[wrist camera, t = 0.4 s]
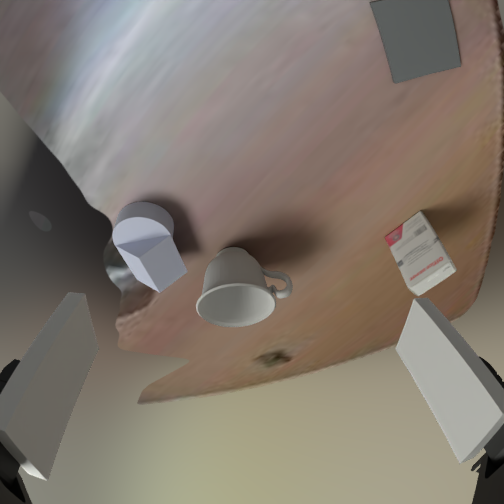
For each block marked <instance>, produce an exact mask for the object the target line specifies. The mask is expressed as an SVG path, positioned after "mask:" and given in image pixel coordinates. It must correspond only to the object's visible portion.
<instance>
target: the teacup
mask: <svg viewBox="0 0 504 504" xmlns="http://www.w3.org/2000/svg"><path fill="white" fill-rule="evenodd" d="M264 275H266V276H268V277H270V278H277V279H281V280H284V281H285V282H286V283H287V286H286V288H285V289H284V290H280V291H279V290H277V289H276V287H275V286H274V285H271V286H270V287H267V284H266V281H265V278H264ZM292 287H293V285H292V281H291V279H290V277H289V276H288V275H287V274H285V273H283V272H278V271H268V270H266V269H264V268H263V267H261V266H260V265H259V263H258V262H257V260H256V259H255V258H254V257H252V256H251V255H249V254H248V252H247V251H246V250H244V249H242V248H238V247H229V248H225V249H223V250H221V251H220V252H219V253H218V254H217V256H216V257H215V258H214V259H213V260H212V261H211V262H210V264H209V265H208V267H207V270H206V273H205V278H204V285H203V292H202V296H201V297H200V298H199V299H198V301H197V304H196V309H197V312H198V314H199V315H200V316H201V317H202V318H203V319H205V320H206V321H208V322H209V323H212V324H215V325H218V326H224V327H242V326H248V325H252V324H255V323H257V322H260V321H262V320H263V319H265V318H267V317H268V316H269V315H270V314H271V313H272V312H273V310H274V309H275V307H276V299H275V297H274V295H273V294H272V293H273V292H274V294H275V295H276V296H277V297H278V298H285V297H288V296H289V295H290V294H291V292H292Z"/></svg>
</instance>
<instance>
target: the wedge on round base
mask: <svg viewBox="0 0 504 504" xmlns="http://www.w3.org/2000/svg"><path fill="white" fill-rule="evenodd" d="M173 232H174V222H173V219H172V217H171V215H170V214H169V213H168V212H167V211H166V210H165V209H164V208H162V207H161V206H159V205H156V204H153V203H150V202H135V203H131V204H129V205H127V206H125V207H124V208H123V209H122V210H121V211H120V212H119V214H118V217H117V220H116V224H115V227H114V230H113V242H114V244H115V246H116V247H117V249H118V251H119V252H120V254H121V255H122V257H123V259H124V260H125V262H126V263H127V265H128V266H129V268H130V269H131V271H132V272H133V274H134V275H135V277H136V279H137V280H139V281H141V282H142V283H144V284H146V285H147V286H149V287H151V288H153V289H154V290H156V291H158V292H161V291H163V290H164V289H165V288H167V287H168V286H169V285H171V284H172V283H173V282H175V281H176V280H177V279H179V278H180V277H181V276H183V275H184V274H185V273H187V269H186V267H185V265H184V263H183V261H182V259H181V257H180V254H179V252H178V250H177V248H176V246H175V243H174V241H173Z"/></svg>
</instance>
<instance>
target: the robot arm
mask: <svg viewBox="0 0 504 504" xmlns="http://www.w3.org/2000/svg"><path fill="white" fill-rule="evenodd" d="M98 350H99V347H98V343H97V340H96V336H95V332H94V329H93V325H92V321H91V317H90V313H89V309H88V304H87V300H86V296H85V294H81V293H70V292H69V293H68V294H67V295H66V297H65V298H64V299H63V301H62V302H61V303H60V305H59V306H58V307H57V309H56V310H55V311H54V313H53V314H52V315H51V317H50V318H49V320H48V321H47V323H46V324H45V325H44V327H43V328H42V330H41V331H40V333H39V334H38V335H37V337H36V338H35V340H34V341H33V343H32V344H31V346H30V347H29V349H28V350H27V352H26V353H25V355H24V356H23V358H22V360H21V361H20V360H16V359H14V360H13V361H12V362H11V363H9V364H8V365H7V366H6V367H5V368H4V369H3V370H2V372H1V373H0V504H32V502H31V500H30V498H29V495H28V493H27V491H26V488H25V485H24V483H23V480H22V478H21V476H20V475H19V473H18V470H19V467H20V466H21V467H22V468H23V469H24V470H25V471H26V472H27V473H28V474H30V475H33V476H36V477H38V478H41V479H44V480H47V481H48V479H49V475H50V472H51V469H52V466H53V463H54V460H55V457H56V454H57V451H58V449H59V446H60V443H61V440H62V437H63V435H64V432H65V429H66V426H67V423H68V421H69V419H70V416H71V413H72V411H73V408H74V406H75V403H76V401H77V398H78V396H79V394H80V391H81V389H82V386H83V384H84V381H85V379H86V377H87V375H88V372H89V370H90V368H91V365H92V363H93V361H94V359H95V356H96V354H97V352H98ZM396 351H397V352H398V354H399V356H400V357H401V359H402V361H403V362H404V364H405V366H406V367H407V369H408V370H409V372H410V374H411V376H412V377H413V379H414V381H415V382H416V384H417V386H418V388H419V389H420V391H421V393H422V395H423V396H424V398H425V400H426V402H427V403H428V405H429V407H430V409H431V411H432V412H433V414H434V416H435V418H436V420H437V421H438V423H439V425H440V427H441V429H442V431H443V432H444V434H445V436H446V438H447V440H448V442H449V444H450V445H451V447H452V450H453V452H454V453H455V455H456V457H457V459H458V461H459V463H460V464H461V463H463V462H465V461H467V460H470V459H472V458H474V457H475V456H476V455H477V454H478V453H479V452H480V450H482V449H483V448H484V449H485V450H486V453H485V454H484V455H483V456H482V457H481V458H480V459H479V460H478V461H477V462H476V463H475V464H474V465H473V466H472V469H471V471H474V470H475V469H476V468H477V467H478V466H479V465H480V464H481V466H480V468H479V469H478V470H477V471H476V472H478V473H479V476H478V481H477V485H476V490H475V494H474V498H473V502H472V504H504V382H502V379H501V377H500V376H499V375H497V372H496V371H495V370H494V368H493V367H492V366H491V365H490V364H489V363H488V362H487V361H485V360H484V359H483V358H481V357H478V356H477V354H476V353H475V352H474V351H473V349H472V348H471V347H470V346H469V344H468V343H467V342H466V341H465V340H464V339H463V337H462V336H461V335H460V334H459V333H458V331H457V330H456V329H455V328H454V327H453V326H452V325H451V323H450V322H449V321H448V320H447V319H446V318H445V317H444V315H443V314H442V313H441V312H440V311H439V310H438V309H437V308H436V306H435V305H434V304H433V303H432V302H431V301H430V300H429V299H428V298H416V299H414V300H413V303H412V306H411V309H410V312H409V315H408V318H407V320H406V323H405V326H404V329H403V331H402V334H401V337H400V339H399V342H398V344H397V347H396Z"/></svg>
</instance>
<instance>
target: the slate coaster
mask: <svg viewBox="0 0 504 504" xmlns="http://www.w3.org/2000/svg"><path fill="white" fill-rule="evenodd" d="M369 3H370V5H371V8H372V11H373V14H374V17H375V20H376V23H377V26H378V29H379V32H380V35H381V39H382V42H383V45H384V49H385V52H386V56H387V59H388V63H389V67H390V71H391V75H392V79H393V82H394V83H395V84H396V83H399V82H403V81H406V80H410V79H413V78H417V77H421V76H424V75H428V74H432V73H436V72H440V71H444V70H448V69H453V68H457V67H461V64H460V57H459V50H458V44H457V39H456V33H455V28H454V23H453V19H452V14H451V10H450V6H449V2H448V0H378V1H373V2H369Z"/></svg>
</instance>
